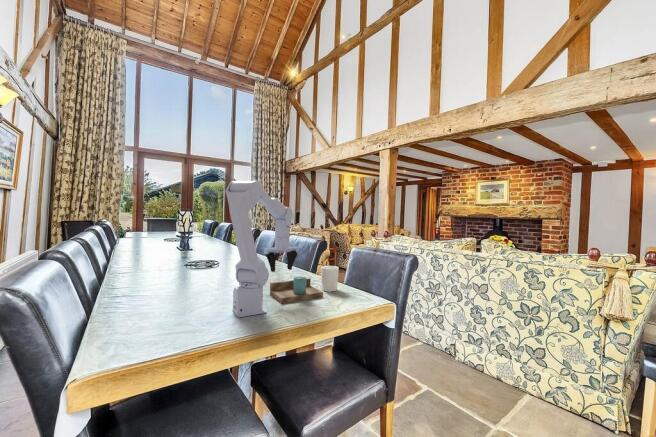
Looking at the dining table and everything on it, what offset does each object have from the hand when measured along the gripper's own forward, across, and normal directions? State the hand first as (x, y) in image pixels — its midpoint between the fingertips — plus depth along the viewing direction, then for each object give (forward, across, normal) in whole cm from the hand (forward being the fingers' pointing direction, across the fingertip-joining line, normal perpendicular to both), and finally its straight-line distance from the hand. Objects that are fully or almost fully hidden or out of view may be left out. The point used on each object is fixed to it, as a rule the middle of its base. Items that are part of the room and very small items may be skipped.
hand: (281, 270), depth 114 cm
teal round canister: (+8, +5, -6) cm, 12 cm away
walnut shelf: (+10, +5, -3) cm, 12 cm away
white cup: (+11, +22, -4) cm, 25 cm away
